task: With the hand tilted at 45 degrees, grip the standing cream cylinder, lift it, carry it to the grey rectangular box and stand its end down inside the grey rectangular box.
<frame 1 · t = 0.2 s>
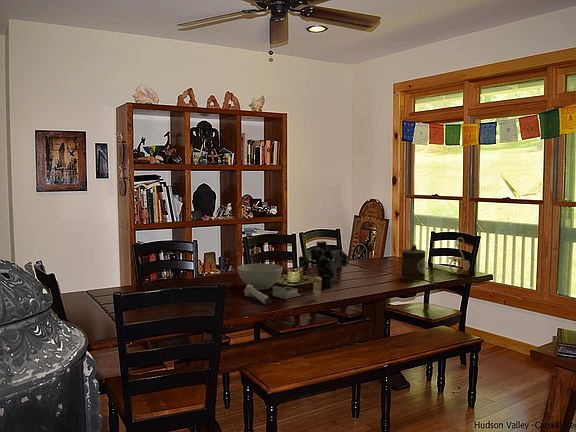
hand: (307, 266, 278), 17 cm above the table, tool horizontal, fingers open, 9 cm apart
cream cylinder: (316, 300, 271), on the table
grey rectangular box: (287, 295, 281), on the table
wooden container: (413, 278, 327), on the table
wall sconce: (457, 274, 341), on the table
decorative bowl: (260, 287, 301), on the table
grey pestle: (256, 300, 273), on the table
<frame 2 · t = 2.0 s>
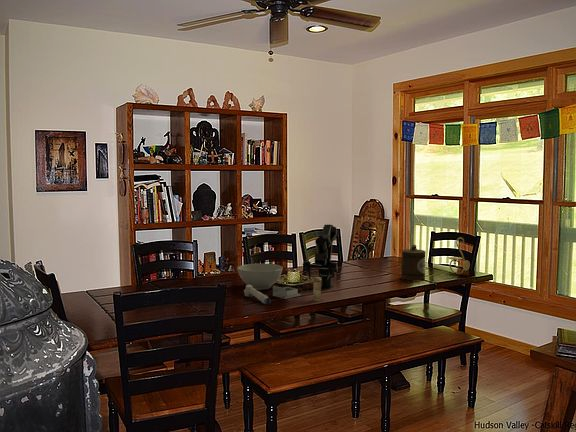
hand: (318, 279, 273), 10 cm above the table, tool tilted 45°, fingers open, 9 cm apart
nothing on the table moved.
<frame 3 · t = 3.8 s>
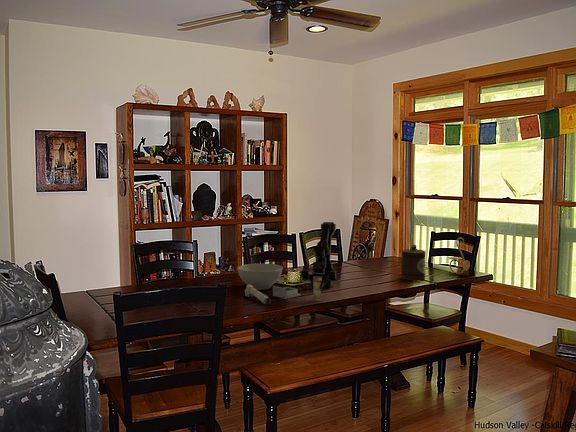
hand: (316, 288, 269), 7 cm above the table, tool tilted 45°, fingers closed on cream cylinder, 4 cm apart
cream cylinder: (317, 300, 271), on the table, touching gripper
everything else where it was.
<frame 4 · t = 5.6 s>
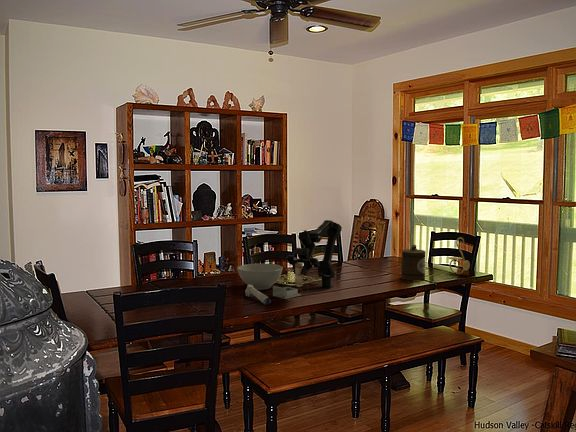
hand: (297, 274, 273), 13 cm above the table, tool tilted 45°, fingers closed on cream cylinder, 4 cm apart
cream cylinder: (298, 285, 274), point 7 cm above the table, touching gripper
everything else where it was.
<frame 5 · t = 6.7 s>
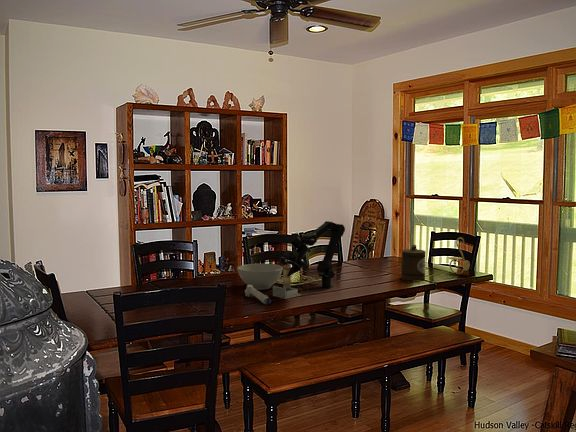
hand: (285, 275, 279), 11 cm above the table, tool tilted 45°, fingers closed on cream cylinder, 4 cm apart
cream cylinder: (287, 286, 280), point 5 cm above the table, touching gripper
everything else where it was.
when the fingers open (8 cm above the table, at t = 7.6 s): cream cylinder drops 1 cm, resting on grey rectangular box.
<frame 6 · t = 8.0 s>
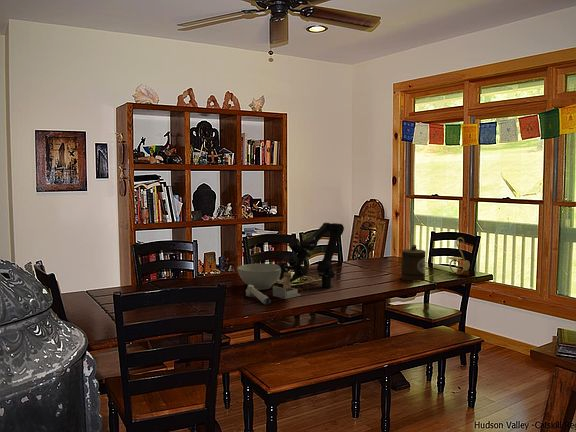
hand: (285, 280, 279), 9 cm above the table, tool tilted 45°, fingers open, 8 cm apart
cream cylinder: (287, 294, 281), point 1 cm above the table, touching grey rectangular box
everything else where it was.
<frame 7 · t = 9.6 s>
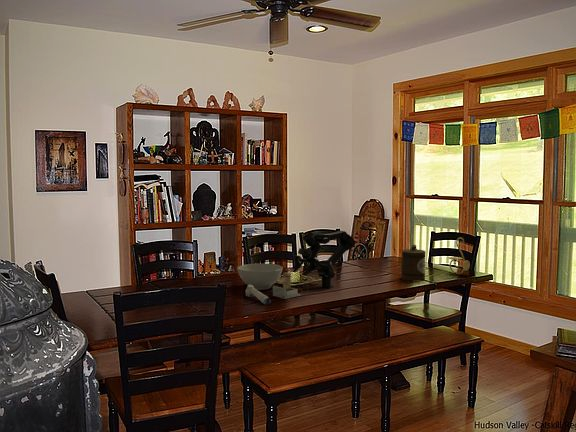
hand: (299, 273, 286), 11 cm above the table, tool tilted 45°, fingers open, 9 cm apart
nothing on the table moved.
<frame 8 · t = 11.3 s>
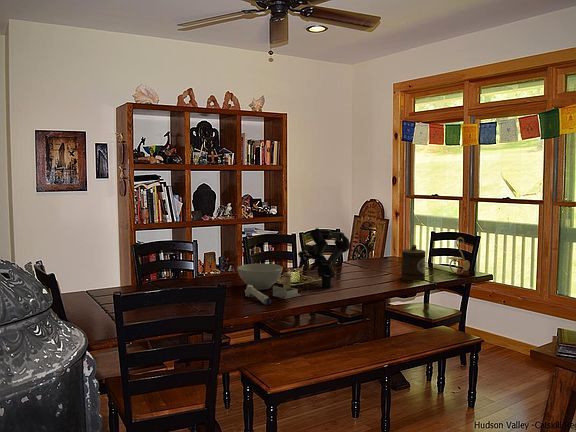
hand: (304, 269, 286), 14 cm above the table, tool tilted 45°, fingers open, 9 cm apart
nothing on the table moved.
at the end: cream cylinder 0.0 cm off-centre on the grey rectangular box, point 0.6 cm above the grey rectangular box's base; cream cylinder tilted 0°; the gripper is holding nothing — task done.
